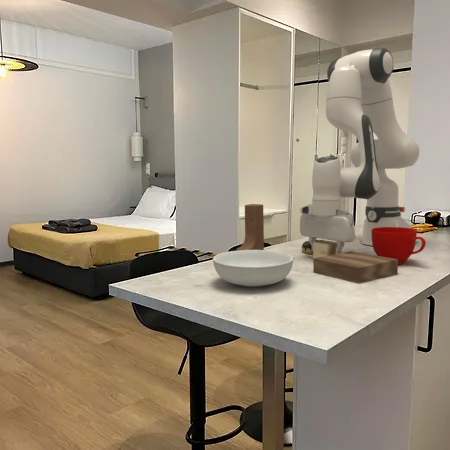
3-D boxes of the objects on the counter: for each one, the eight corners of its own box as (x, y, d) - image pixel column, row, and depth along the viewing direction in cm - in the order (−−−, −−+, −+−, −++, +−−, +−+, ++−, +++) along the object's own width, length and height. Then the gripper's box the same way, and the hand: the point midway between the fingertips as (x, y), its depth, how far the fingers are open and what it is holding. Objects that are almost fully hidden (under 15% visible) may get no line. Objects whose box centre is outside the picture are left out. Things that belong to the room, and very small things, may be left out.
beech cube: (326, 258, 146) (326, 240, 145) (340, 261, 141) (340, 242, 140) (313, 261, 143) (313, 242, 142) (327, 264, 138) (327, 244, 137)
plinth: (351, 264, 136) (351, 251, 136) (397, 273, 123) (397, 259, 123) (313, 272, 127) (313, 258, 127) (358, 283, 114) (359, 268, 114)
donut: (295, 253, 157) (295, 241, 157) (317, 248, 165) (317, 237, 164) (320, 257, 149) (320, 245, 148) (342, 252, 156) (342, 241, 155)
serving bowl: (207, 293, 109) (206, 265, 108) (219, 273, 130) (219, 249, 129) (293, 294, 106) (293, 266, 105) (292, 273, 127) (292, 249, 126)
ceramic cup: (410, 271, 126) (411, 235, 125) (361, 261, 140) (362, 229, 139) (437, 264, 133) (438, 231, 132) (388, 256, 147) (389, 225, 146)
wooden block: (247, 264, 140) (246, 206, 138) (236, 262, 143) (235, 206, 141) (264, 259, 147) (263, 204, 144) (253, 257, 150) (252, 203, 147)
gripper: (360, 210, 133) (359, 256, 134) (310, 206, 150) (310, 247, 151) (345, 212, 129) (345, 259, 131) (296, 207, 146) (296, 249, 148)
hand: (326, 253), depth 141 cm, fingers open, 8 cm apart
